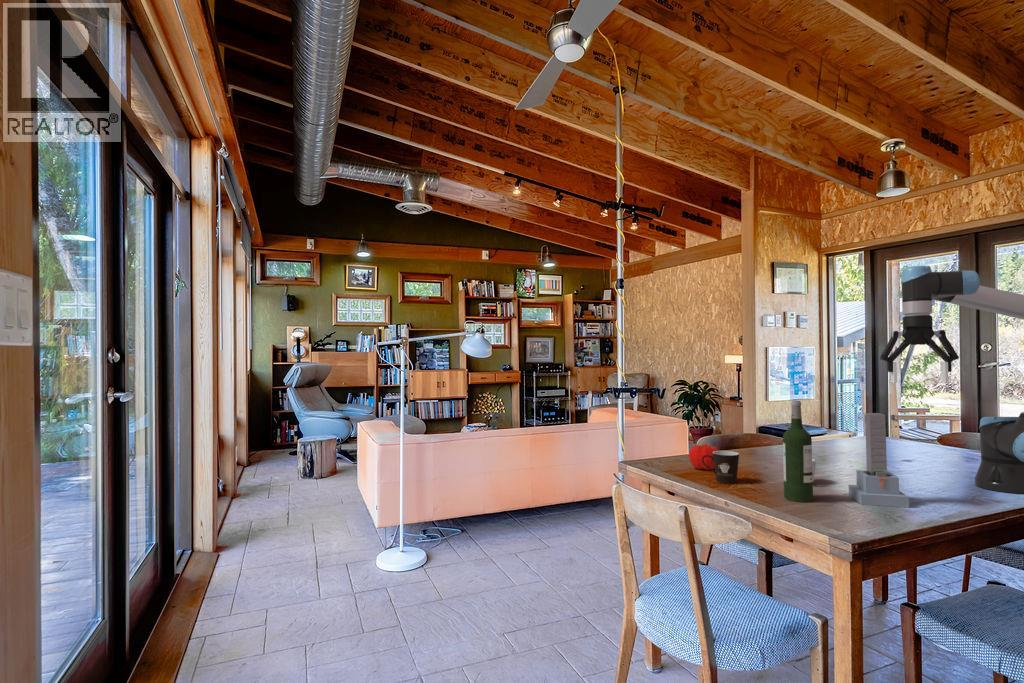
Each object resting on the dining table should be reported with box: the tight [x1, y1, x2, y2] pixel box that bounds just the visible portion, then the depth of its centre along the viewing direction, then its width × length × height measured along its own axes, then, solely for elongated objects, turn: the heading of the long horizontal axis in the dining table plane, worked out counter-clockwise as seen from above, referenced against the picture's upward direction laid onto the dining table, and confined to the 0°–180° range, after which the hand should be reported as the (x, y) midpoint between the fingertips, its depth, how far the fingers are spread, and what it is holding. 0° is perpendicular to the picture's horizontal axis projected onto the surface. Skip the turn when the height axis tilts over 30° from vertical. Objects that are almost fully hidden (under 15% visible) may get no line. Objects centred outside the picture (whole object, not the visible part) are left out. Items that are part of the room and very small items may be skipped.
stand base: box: [847, 469, 910, 508], centre depth 161 cm, size 12×12×9 cm
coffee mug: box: [702, 450, 740, 485], centre depth 188 cm, size 12×9×10 cm
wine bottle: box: [782, 399, 814, 503], centre depth 164 cm, size 8×8×30 cm
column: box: [864, 412, 888, 476], centre depth 161 cm, size 4×5×20 cm
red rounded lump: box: [688, 443, 720, 471], centre depth 208 cm, size 11×12×9 cm
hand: (919, 382), depth 168 cm, fingers open, 13 cm apart
